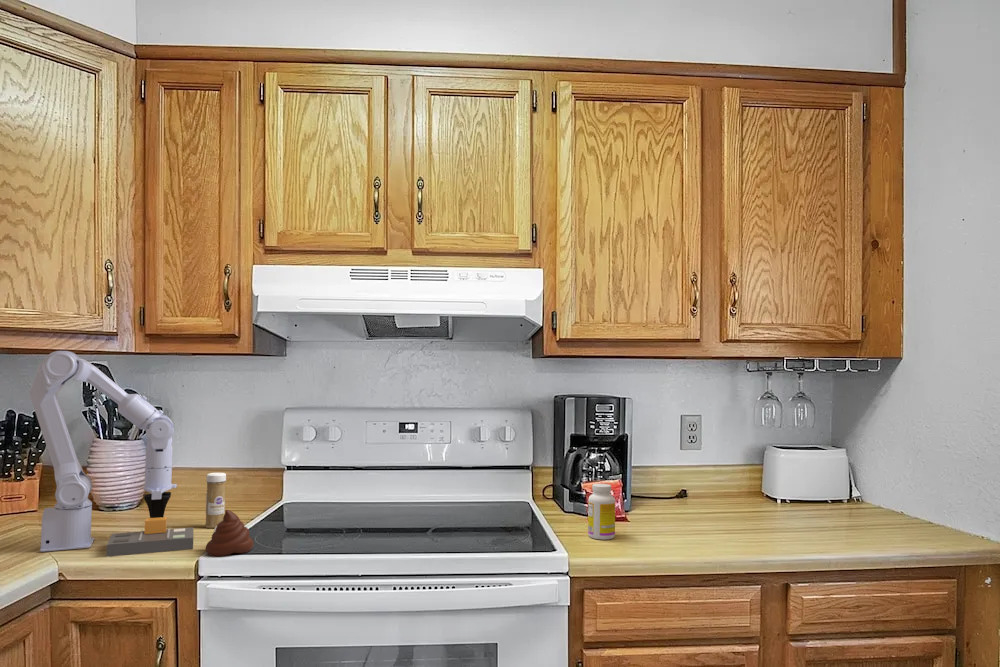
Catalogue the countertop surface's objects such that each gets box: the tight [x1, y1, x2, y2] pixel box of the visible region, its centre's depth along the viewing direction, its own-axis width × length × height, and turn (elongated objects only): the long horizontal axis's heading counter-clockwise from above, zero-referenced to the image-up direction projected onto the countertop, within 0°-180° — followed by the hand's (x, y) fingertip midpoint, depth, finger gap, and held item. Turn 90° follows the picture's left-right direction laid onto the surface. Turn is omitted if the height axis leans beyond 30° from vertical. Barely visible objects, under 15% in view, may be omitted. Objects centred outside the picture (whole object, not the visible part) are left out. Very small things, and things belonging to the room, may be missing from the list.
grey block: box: [105, 527, 194, 557], centre depth 155 cm, size 17×10×3 cm, turn 114°
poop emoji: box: [205, 509, 254, 557], centre depth 153 cm, size 10×8×9 cm
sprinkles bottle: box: [204, 472, 227, 529], centre depth 174 cm, size 5×5×14 cm
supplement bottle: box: [587, 483, 616, 541], centre depth 171 cm, size 7×7×13 cm
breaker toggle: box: [144, 516, 168, 534], centre depth 158 cm, size 4×3×3 cm
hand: (156, 524), depth 162 cm, fingers closed
